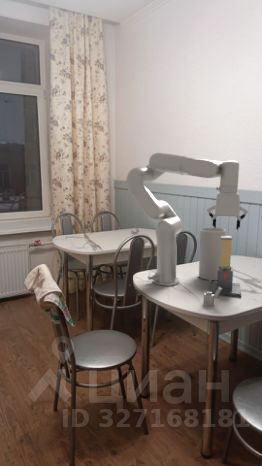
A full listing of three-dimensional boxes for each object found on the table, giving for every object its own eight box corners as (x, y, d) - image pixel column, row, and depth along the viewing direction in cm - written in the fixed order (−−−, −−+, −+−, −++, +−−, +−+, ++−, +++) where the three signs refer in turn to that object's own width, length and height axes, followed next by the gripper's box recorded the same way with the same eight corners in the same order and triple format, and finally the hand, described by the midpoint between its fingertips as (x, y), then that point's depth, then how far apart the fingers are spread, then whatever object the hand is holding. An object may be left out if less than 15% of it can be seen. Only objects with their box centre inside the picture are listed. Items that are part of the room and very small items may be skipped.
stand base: (208, 294, 150) (208, 270, 148) (209, 284, 163) (210, 261, 161) (240, 297, 146) (242, 272, 144) (239, 286, 159) (240, 263, 157)
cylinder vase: (226, 280, 168) (228, 231, 163) (201, 280, 168) (203, 231, 163) (219, 273, 180) (221, 227, 176) (196, 273, 180) (198, 227, 176)
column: (219, 274, 151) (221, 237, 148) (219, 271, 156) (221, 235, 153) (230, 275, 150) (232, 238, 147) (230, 272, 155) (232, 236, 152)
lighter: (203, 304, 139) (203, 285, 138) (204, 302, 141) (205, 284, 139) (220, 307, 136) (221, 288, 134) (221, 305, 137) (222, 287, 136)
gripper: (207, 189, 145) (205, 228, 148) (250, 191, 140) (246, 231, 144) (208, 188, 152) (206, 226, 155) (248, 190, 148) (245, 228, 151)
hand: (225, 228), depth 150 cm, fingers open, 9 cm apart
